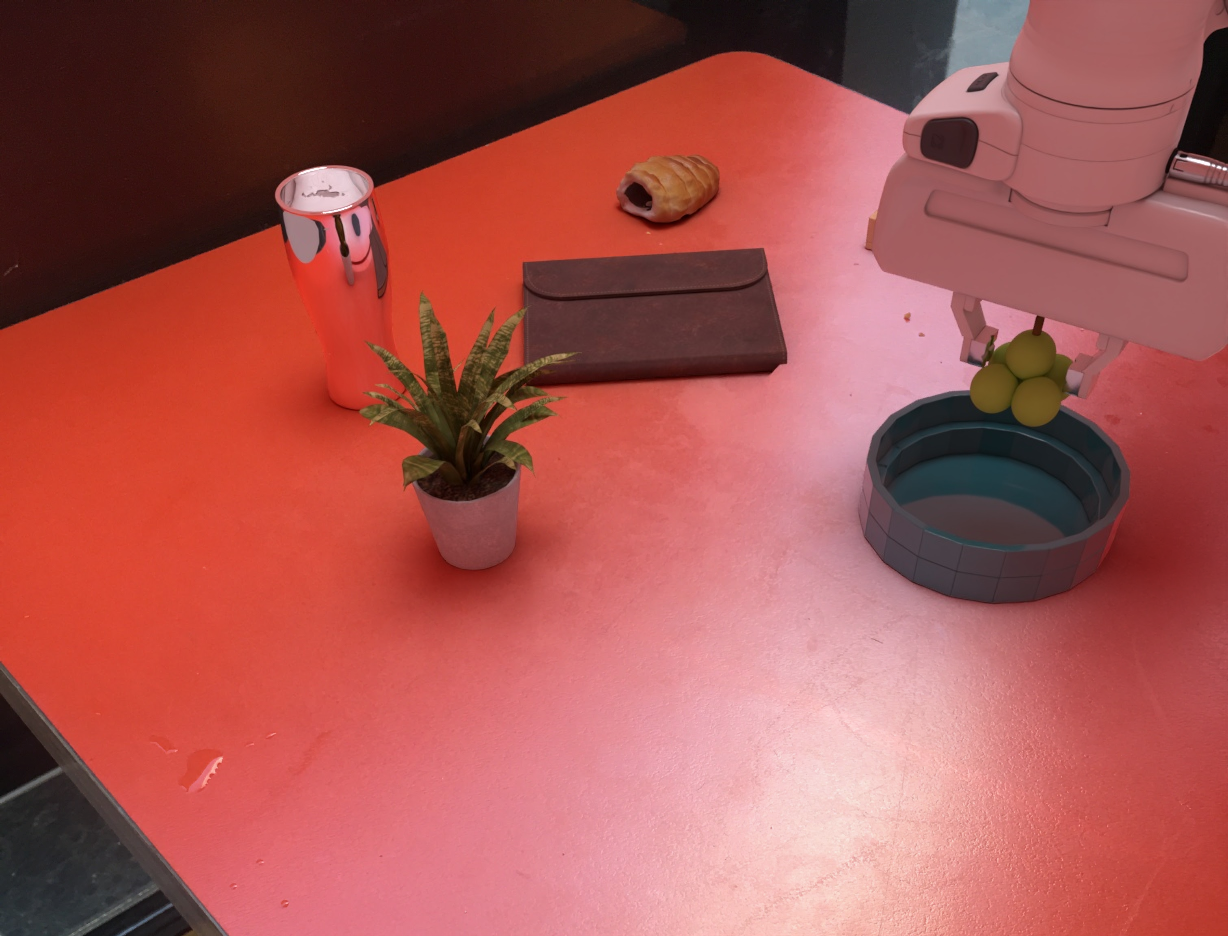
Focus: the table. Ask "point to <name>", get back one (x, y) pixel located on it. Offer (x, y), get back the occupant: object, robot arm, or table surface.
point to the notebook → (652, 316)
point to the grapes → (1023, 378)
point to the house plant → (466, 438)
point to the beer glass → (342, 276)
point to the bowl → (991, 499)
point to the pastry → (668, 187)
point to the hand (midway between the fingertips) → (1025, 375)
